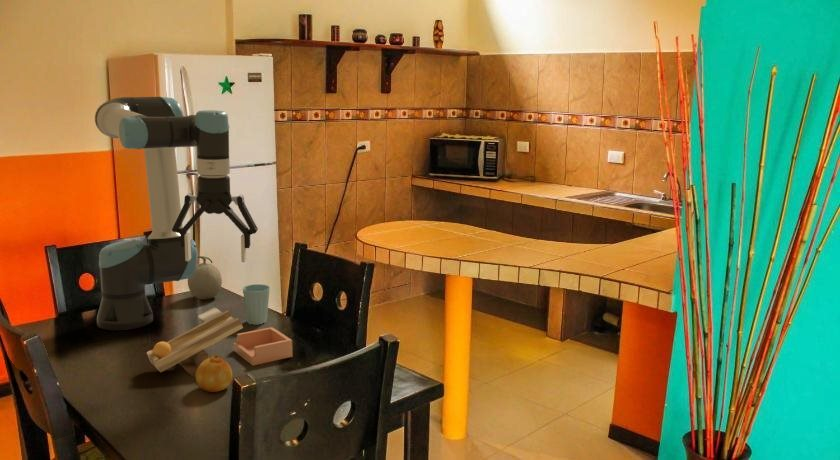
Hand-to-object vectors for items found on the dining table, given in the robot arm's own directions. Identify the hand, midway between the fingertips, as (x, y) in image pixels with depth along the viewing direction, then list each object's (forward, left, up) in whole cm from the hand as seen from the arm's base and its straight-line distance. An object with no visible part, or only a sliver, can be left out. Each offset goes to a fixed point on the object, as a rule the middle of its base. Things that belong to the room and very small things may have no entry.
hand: (216, 260), depth 184 cm
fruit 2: (+17, -8, -26) cm, 32 cm away
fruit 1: (-53, +16, -26) cm, 61 cm away
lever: (-3, -6, -20) cm, 22 cm away
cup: (-22, +20, -26) cm, 39 cm away
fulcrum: (+1, -6, -26) cm, 27 cm away
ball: (+1, -15, -20) cm, 25 cm away
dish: (+3, +10, -26) cm, 28 cm away
